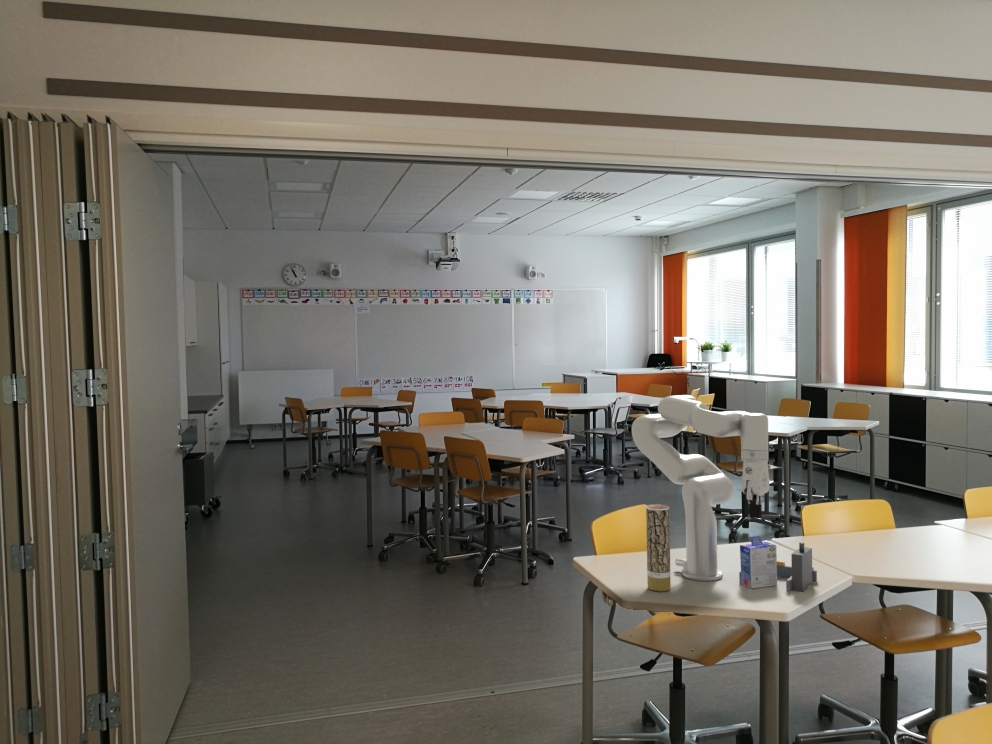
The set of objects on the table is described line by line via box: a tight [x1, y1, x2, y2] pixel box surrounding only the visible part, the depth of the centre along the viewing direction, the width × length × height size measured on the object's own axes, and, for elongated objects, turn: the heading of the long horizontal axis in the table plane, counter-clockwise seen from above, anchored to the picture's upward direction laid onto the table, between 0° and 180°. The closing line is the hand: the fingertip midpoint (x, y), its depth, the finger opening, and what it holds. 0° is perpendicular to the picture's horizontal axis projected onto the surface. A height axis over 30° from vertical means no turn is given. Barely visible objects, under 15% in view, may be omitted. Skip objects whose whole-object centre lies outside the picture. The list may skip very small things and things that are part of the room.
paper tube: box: [645, 503, 671, 592], centre depth 216 cm, size 7×7×25 cm
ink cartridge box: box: [739, 535, 778, 589], centre depth 217 cm, size 10×6×14 cm, turn 109°
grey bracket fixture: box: [738, 541, 818, 593], centre depth 219 cm, size 18×15×13 cm
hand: (755, 517), depth 210 cm, fingers closed
